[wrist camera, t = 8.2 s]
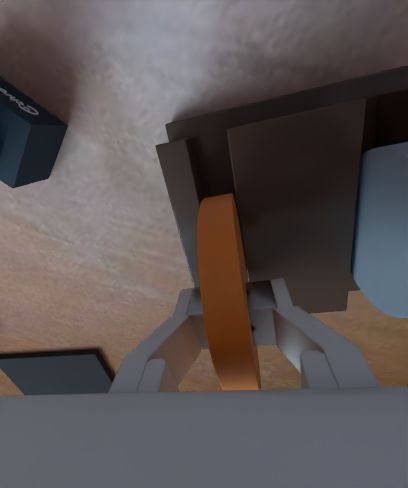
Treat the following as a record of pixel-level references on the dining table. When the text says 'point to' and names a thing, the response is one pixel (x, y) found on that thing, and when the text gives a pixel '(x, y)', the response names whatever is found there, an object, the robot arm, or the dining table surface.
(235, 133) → the rack
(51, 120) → the watch
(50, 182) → the dining table surface
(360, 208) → the grey disc
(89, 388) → the mat
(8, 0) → the dining table surface
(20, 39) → the dining table surface
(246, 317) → the orange disc
